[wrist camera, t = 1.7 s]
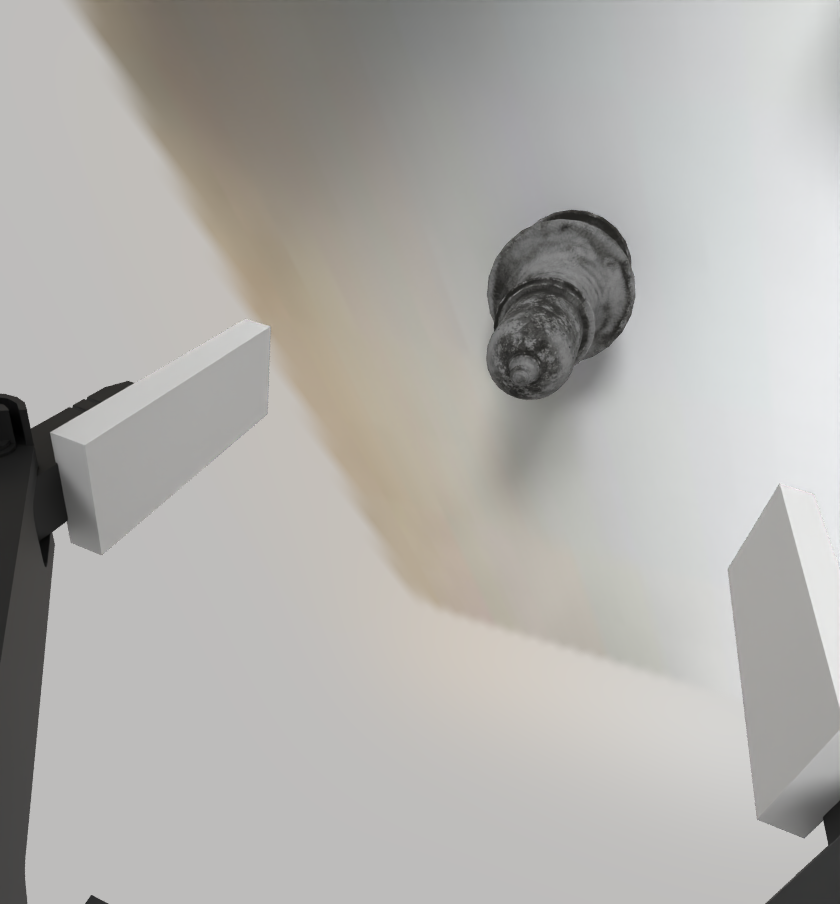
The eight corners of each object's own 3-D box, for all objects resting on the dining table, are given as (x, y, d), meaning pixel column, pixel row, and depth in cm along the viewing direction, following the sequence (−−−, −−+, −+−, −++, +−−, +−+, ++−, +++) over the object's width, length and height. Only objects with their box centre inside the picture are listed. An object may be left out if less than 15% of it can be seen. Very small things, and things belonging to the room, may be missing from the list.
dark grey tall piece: (667, 246, 27) (667, 352, 17) (590, 357, 30) (552, 497, 20) (546, 176, 27) (477, 242, 17) (482, 294, 30) (395, 405, 21)
